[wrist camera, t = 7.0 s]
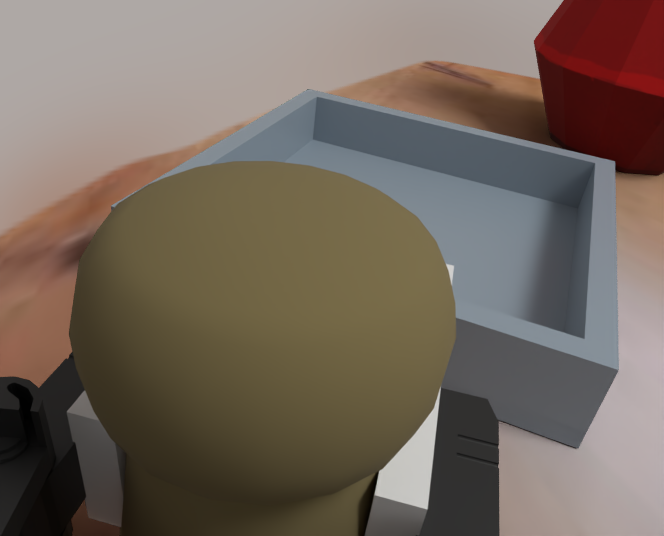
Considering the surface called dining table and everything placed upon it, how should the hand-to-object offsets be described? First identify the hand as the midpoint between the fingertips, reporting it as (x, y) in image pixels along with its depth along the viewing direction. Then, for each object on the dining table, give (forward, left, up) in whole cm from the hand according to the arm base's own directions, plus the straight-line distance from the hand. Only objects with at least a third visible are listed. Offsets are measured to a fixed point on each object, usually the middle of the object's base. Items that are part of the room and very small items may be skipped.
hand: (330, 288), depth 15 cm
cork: (+3, +4, -6) cm, 8 cm away
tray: (-9, -10, -6) cm, 14 cm away
